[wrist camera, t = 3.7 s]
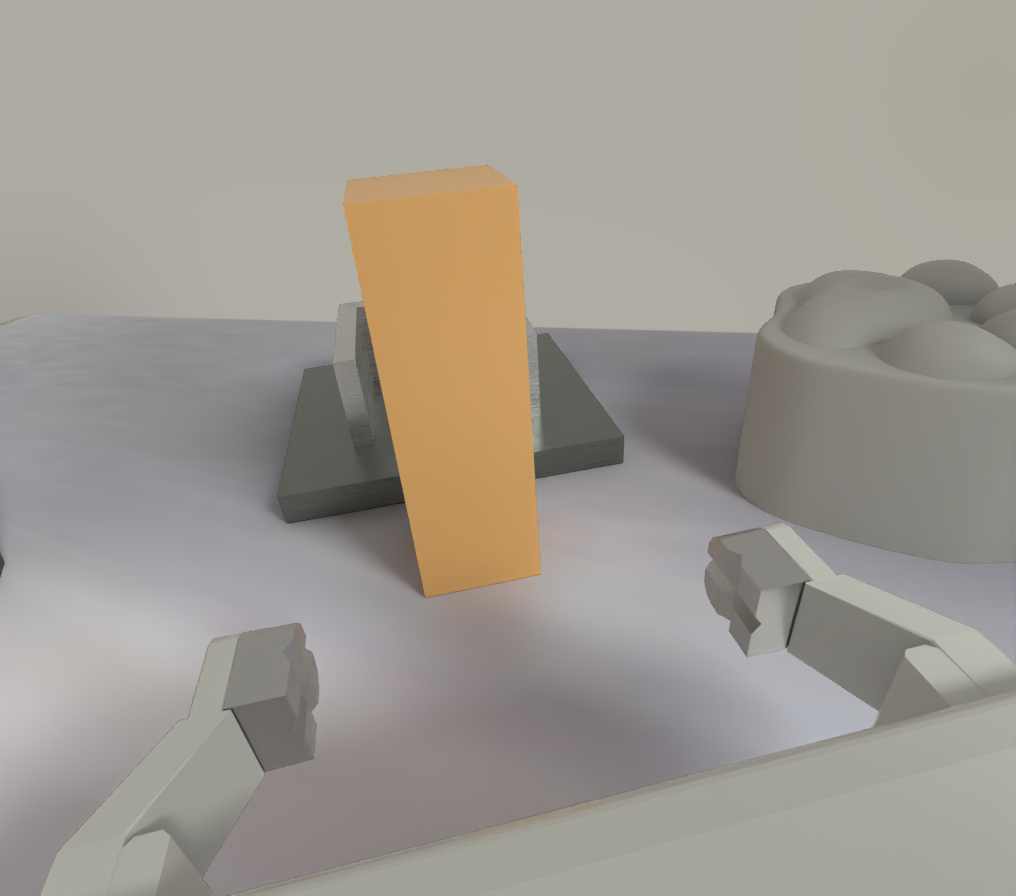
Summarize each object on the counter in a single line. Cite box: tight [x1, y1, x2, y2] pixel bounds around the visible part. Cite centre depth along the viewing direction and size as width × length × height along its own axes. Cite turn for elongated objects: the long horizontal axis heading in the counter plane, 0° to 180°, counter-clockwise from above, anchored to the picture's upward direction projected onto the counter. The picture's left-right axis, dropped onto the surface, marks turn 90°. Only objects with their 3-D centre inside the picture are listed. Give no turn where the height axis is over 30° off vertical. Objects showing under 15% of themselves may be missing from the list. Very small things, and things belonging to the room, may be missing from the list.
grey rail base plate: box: [278, 301, 624, 523], centre depth 32 cm, size 14×16×6 cm
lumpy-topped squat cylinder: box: [735, 260, 1016, 564], centre depth 24 cm, size 10×13×9 cm
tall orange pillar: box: [343, 165, 541, 598], centre depth 21 cm, size 4×4×14 cm
